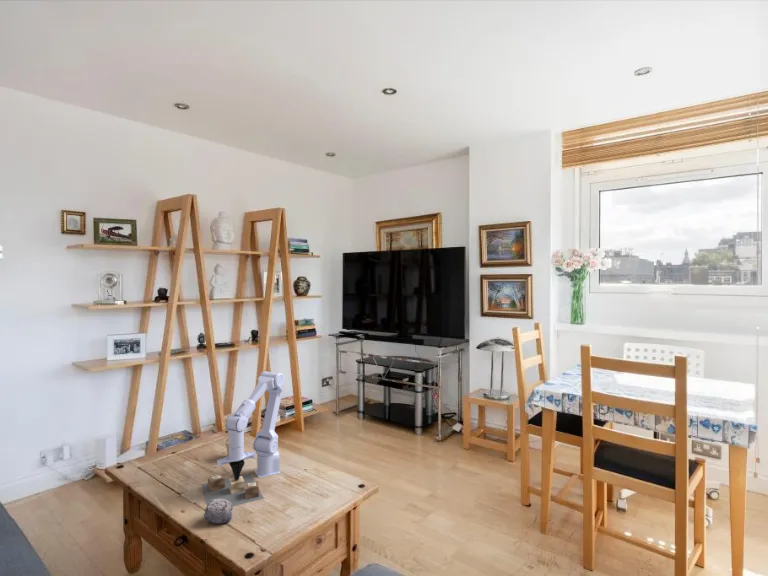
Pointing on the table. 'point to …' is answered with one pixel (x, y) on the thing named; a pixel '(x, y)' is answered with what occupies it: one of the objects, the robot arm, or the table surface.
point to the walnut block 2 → (251, 490)
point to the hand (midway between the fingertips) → (236, 478)
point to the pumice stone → (218, 511)
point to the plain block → (236, 485)
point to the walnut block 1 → (216, 482)
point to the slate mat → (226, 494)
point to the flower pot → (228, 445)
